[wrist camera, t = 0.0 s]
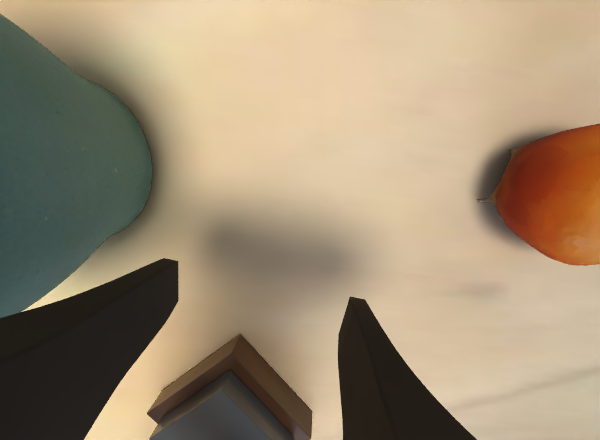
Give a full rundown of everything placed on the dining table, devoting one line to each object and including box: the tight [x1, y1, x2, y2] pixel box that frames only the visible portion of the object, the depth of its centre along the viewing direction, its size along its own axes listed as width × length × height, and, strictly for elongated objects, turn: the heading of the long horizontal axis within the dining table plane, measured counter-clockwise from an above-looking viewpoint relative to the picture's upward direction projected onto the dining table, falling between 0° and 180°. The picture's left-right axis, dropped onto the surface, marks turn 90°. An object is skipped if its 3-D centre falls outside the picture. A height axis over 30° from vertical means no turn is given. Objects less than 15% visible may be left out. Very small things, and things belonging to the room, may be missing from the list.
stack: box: [147, 335, 312, 440], centre depth 24 cm, size 10×10×4 cm
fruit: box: [477, 124, 600, 265], centre depth 17 cm, size 8×8×8 cm
